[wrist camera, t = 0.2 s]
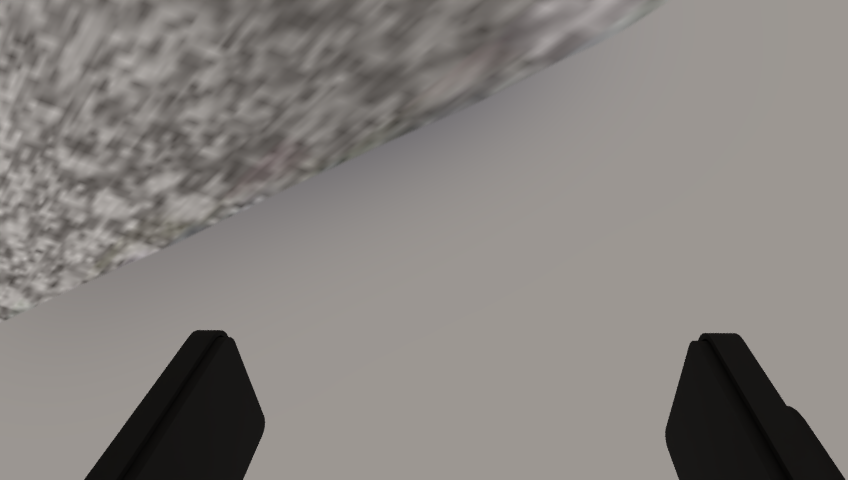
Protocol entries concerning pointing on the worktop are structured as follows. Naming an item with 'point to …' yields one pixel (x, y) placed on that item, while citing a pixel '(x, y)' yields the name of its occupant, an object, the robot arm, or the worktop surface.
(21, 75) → the worktop surface
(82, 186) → the worktop surface
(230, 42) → the worktop surface
